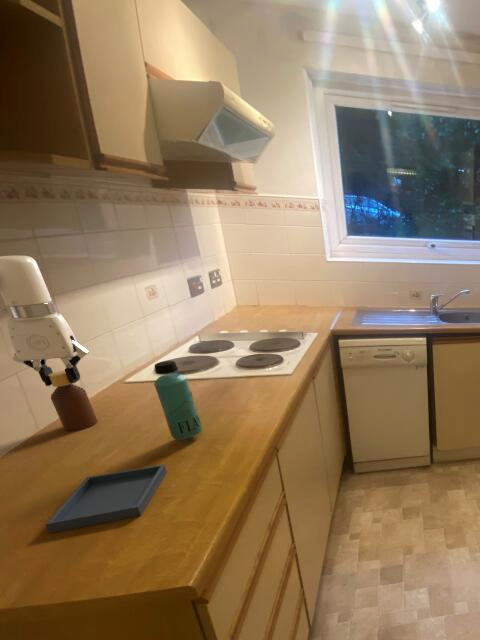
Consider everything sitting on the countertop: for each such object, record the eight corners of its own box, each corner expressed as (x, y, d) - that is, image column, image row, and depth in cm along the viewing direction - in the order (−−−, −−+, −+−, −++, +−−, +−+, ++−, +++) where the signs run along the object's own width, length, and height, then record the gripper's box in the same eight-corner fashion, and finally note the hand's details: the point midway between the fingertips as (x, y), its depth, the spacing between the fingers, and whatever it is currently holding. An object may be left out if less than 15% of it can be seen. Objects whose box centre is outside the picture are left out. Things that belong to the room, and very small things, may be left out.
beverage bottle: (181, 447, 103) (155, 369, 95) (167, 440, 106) (140, 364, 98) (210, 436, 108) (187, 360, 101) (196, 429, 111) (173, 356, 104)
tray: (49, 533, 76) (44, 524, 75) (90, 485, 89) (86, 477, 88) (141, 515, 81) (137, 506, 80) (167, 472, 94) (164, 464, 93)
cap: (69, 385, 107) (65, 375, 106) (48, 387, 106) (44, 377, 105) (78, 379, 111) (73, 369, 110) (58, 381, 110) (53, 371, 109)
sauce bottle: (59, 432, 109) (36, 381, 104) (72, 421, 115) (50, 372, 109) (91, 428, 111) (70, 378, 106) (102, 418, 117) (82, 369, 112)
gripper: (-27, 317, 95) (10, 393, 102) (69, 311, 101) (98, 383, 108) (-4, 310, 102) (29, 381, 109) (85, 304, 107) (111, 373, 114)
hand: (63, 382), depth 108 cm, fingers closed on cap, 4 cm apart
